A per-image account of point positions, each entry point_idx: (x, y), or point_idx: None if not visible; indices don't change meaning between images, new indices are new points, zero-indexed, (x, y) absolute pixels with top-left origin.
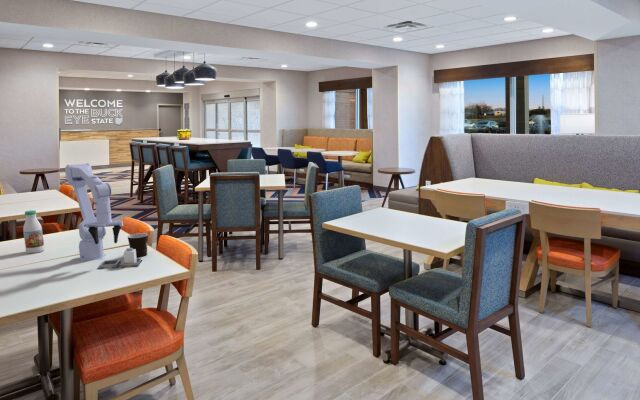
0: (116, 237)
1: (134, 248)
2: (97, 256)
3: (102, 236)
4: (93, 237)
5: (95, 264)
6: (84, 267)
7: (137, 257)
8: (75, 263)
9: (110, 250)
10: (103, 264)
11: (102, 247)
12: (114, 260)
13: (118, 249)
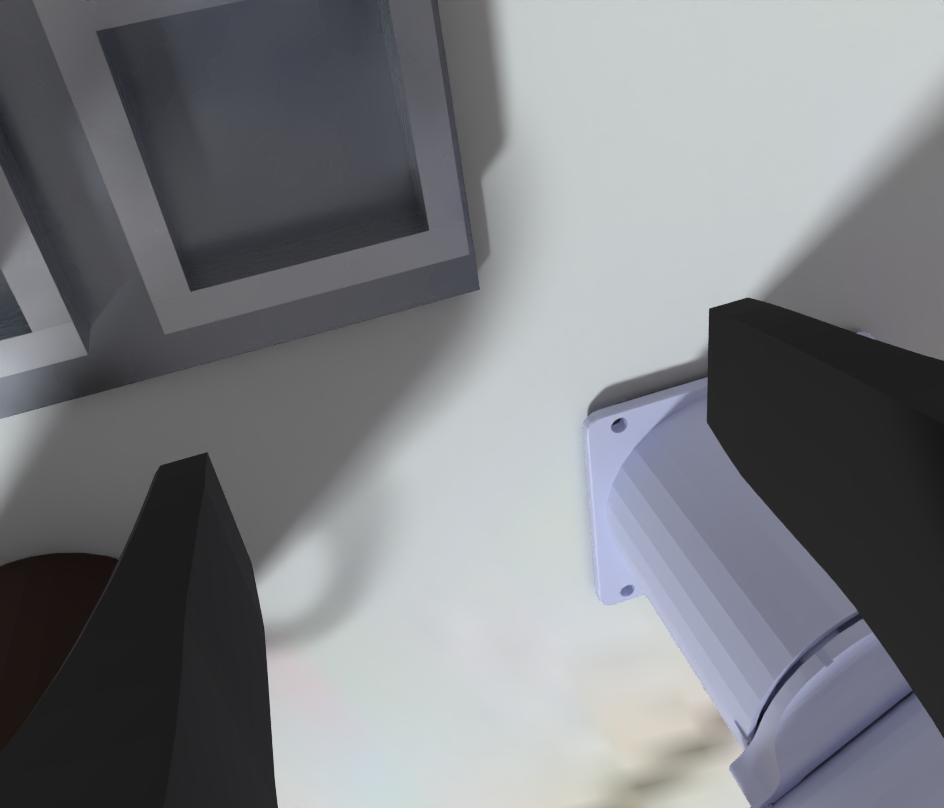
0: (103, 609)
1: (32, 689)
2: (672, 450)
3: (764, 795)
4: (941, 368)
5: (609, 230)
6: (734, 64)
7: (19, 572)
8: (906, 260)
9: (627, 737)
10: (397, 71)
11: (674, 617)
12: (268, 278)
13: (549, 780)
